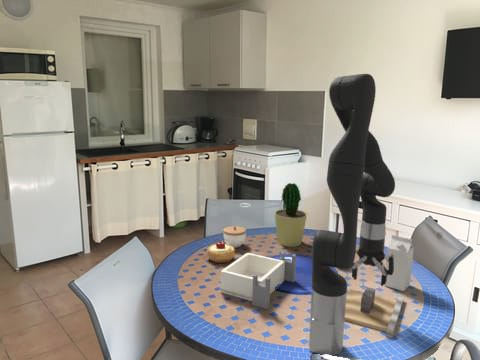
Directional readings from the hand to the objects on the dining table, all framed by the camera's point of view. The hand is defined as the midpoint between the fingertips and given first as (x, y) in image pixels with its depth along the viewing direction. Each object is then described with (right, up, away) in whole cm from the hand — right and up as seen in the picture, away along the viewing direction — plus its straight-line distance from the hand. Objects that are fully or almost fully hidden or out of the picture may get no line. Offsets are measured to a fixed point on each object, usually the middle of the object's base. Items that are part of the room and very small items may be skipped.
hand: (368, 281), depth 128 cm
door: (0, -10, +1) cm, 10 cm away
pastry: (-50, -1, +42) cm, 65 cm away
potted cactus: (-18, +3, +63) cm, 65 cm away
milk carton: (+17, -7, +19) cm, 26 cm away
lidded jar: (-44, +2, +58) cm, 73 cm away
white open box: (-35, -6, +16) cm, 39 cm away
